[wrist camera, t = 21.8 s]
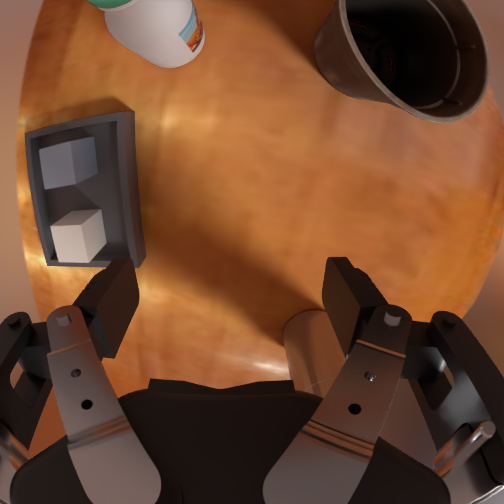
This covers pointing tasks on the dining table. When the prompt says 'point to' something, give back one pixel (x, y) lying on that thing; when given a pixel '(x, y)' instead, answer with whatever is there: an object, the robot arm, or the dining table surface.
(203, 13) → the dining table surface
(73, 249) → the cream block
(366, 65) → the plant pot
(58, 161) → the slate blue block
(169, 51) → the milk bottle
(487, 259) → the dining table surface
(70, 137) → the dark grey tray
